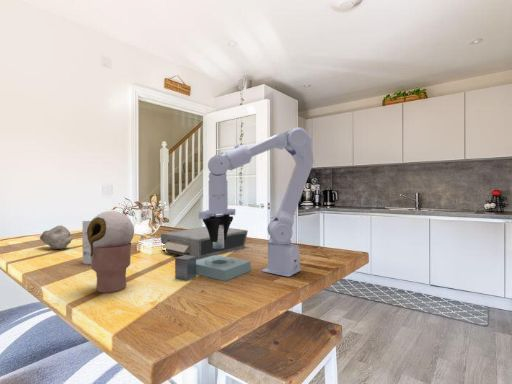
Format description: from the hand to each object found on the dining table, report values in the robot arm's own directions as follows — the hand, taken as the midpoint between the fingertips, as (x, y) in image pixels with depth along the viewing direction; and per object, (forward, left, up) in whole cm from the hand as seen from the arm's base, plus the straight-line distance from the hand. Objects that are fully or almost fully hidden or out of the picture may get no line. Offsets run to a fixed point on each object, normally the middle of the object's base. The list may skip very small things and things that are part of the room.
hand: (218, 240), depth 88 cm
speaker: (+28, -21, -10) cm, 36 cm away
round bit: (0, 0, -2) cm, 2 cm away
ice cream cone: (+14, +26, -10) cm, 31 cm away
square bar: (+5, +9, -10) cm, 14 cm away
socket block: (+1, -1, -10) cm, 10 cm away
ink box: (+43, +15, -10) cm, 46 cm away
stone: (+81, +13, -10) cm, 82 cm away
